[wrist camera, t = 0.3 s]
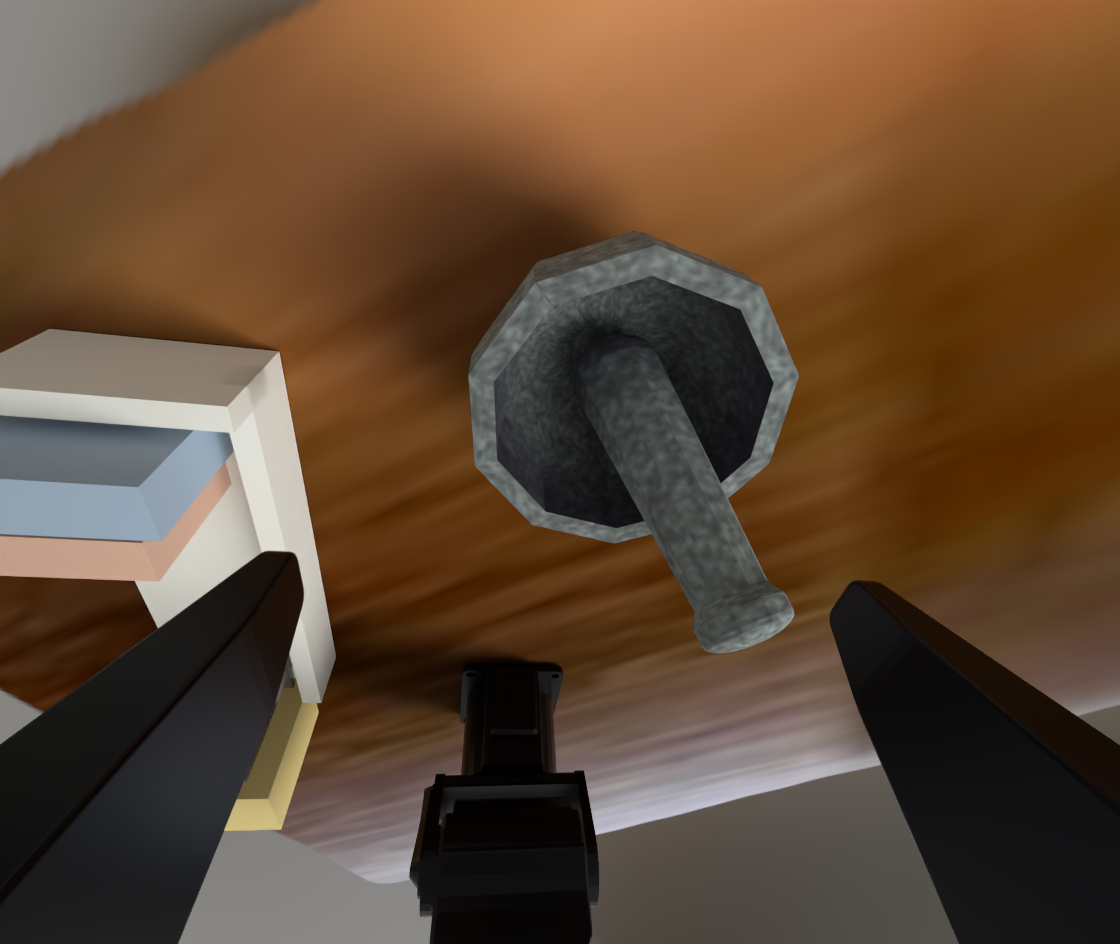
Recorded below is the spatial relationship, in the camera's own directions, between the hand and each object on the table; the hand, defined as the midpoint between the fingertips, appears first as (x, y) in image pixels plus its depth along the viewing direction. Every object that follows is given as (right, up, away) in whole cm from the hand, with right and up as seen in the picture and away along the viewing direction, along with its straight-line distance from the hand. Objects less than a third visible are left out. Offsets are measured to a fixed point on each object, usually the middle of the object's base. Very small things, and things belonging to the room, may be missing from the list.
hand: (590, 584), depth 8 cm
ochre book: (-19, -13, +25) cm, 34 cm away
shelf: (-17, -1, +17) cm, 24 cm away
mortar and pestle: (+2, +7, +13) cm, 15 cm away
